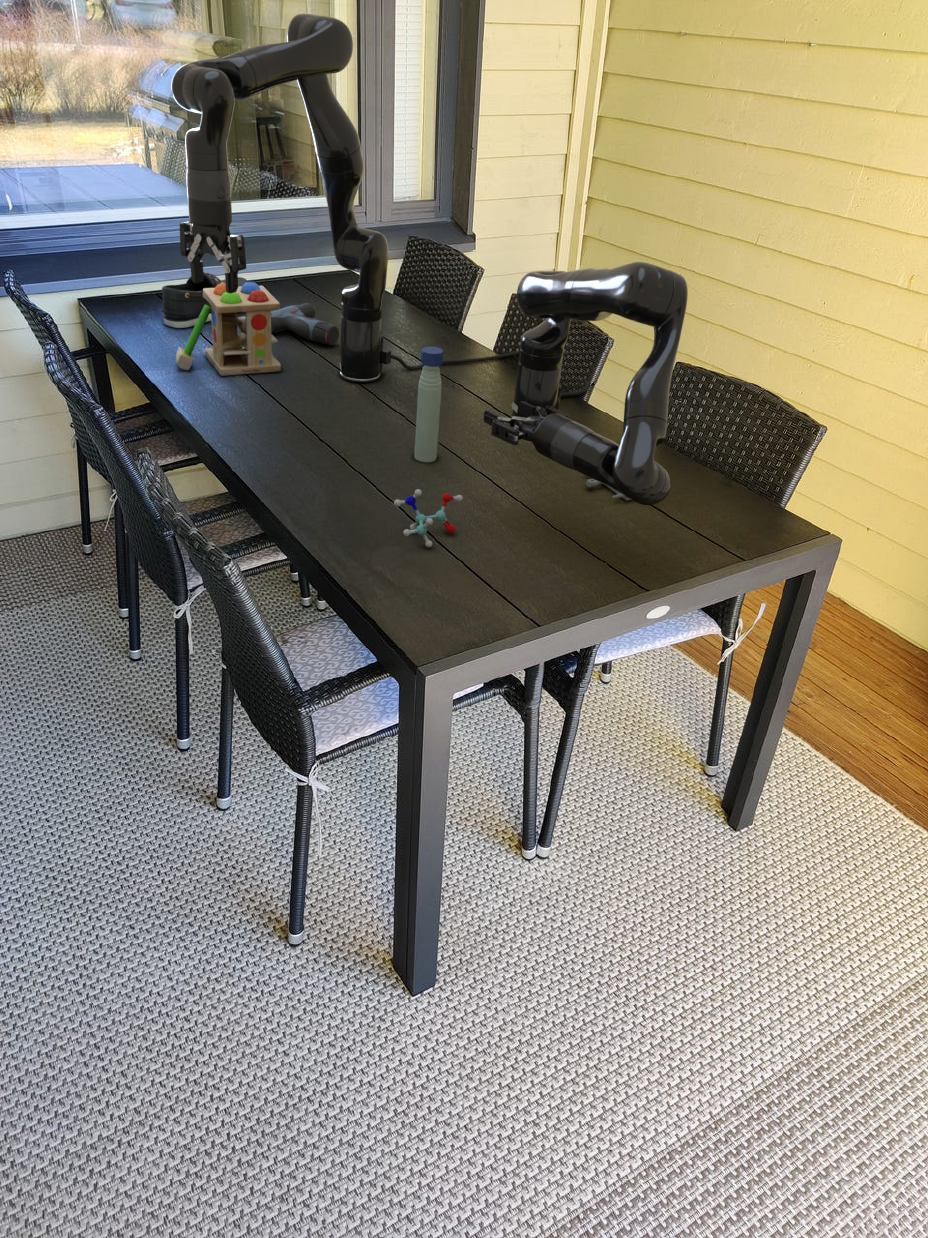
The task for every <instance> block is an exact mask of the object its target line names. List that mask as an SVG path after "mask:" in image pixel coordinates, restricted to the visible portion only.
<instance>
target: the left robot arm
mask: <svg viewBox="0 0 928 1238" xmlns="http://www.w3.org/2000/svg"><path fill="white" fill-rule="evenodd" d="M353 52H354V41H353V36H352V33H351V30H350V28H349V27H348V26H347V24H346V23H345V22H344V21H342V20H340V19H338V18H336V17H332V16H324V15H319V14H312V13H299V14H296V15H294V16H293V17H292V18H291V20H290V21H289V24H288V28H287V34H286V41H284V42H276V43H266V44H260V45H254V46H251V47H248V48H244V49H241V50H239V51H236V52H232V53H231V54H230V53H229V55H226V56H223V57H218V58H217V57H215V58H208V59H202V60H196V61H191V62H188V63H186V64H183V65H182V66H180V67H179V68H178V69H177V70H176V71H175V73H174V74H173V76H172V79H171V85H170V88H171V93H172V96H173V99H174V100H175V102H176V103H177V105H179V106H180V107H181V108H183V110H187V111H189V112H192V113H197V114H201V118H200V124H199V127H195V128H191V129H189V130H188V131H187V132H186V134H185V137H184V138H185V140H184V142H185V144H184V146H185V158H186V193H187V194H186V195H187V208H188V209H187V210H188V220H189V221H184V222H180V223H179V246H180V248H179V249H180V255H181V256H182V257H185V258H187V260H188V262H189V265H190V275H191V276H190V277H192V280H193V282H194V283H200V282H203V281H204V274H203V272H204V261H203V260H202V259H203V258H204V255H205V254H209V255H210V256H212V257H216V260H217V261H218V262H219V263H220V264H221V265H222V267H223V269H224V271H225V272H224V280H225V283H226V292H227V293H234V292H236V291H237V289H238V277H239V274H238V273H239V272H241V271H244V270H246V269H247V256H246V246H245V245H246V243H245V237H244V236H243V234H238V235H234V234H232V233H231V231H230V226H231V225H232V222H233V210H232V190H231V189H232V188H231V178H230V172H229V159H228V139H229V135H230V130H231V125H232V120H233V114H234V110H235V102H236V101H243V100H246V99H249V98H252V97H254V96H256V95H258V94H261V93H264V92H265V91H269V90H271V89H273V88H276V87H279V86H282V85H284V84H288V83H291V82H294V81H297V85H298V87H299V90H300V93H301V96H302V100H303V102H304V106H305V107H304V108H305V111H306V116H307V119H308V123H309V127H310V130H311V135H312V141H313V145H314V150H315V155H316V159H317V164H318V168H319V172H320V175H321V176H320V177H321V179H322V185H323V189H324V194H325V195H324V196H325V199H326V204H327V209H328V217H329V223H330V233H331V234H330V235H331V241H332V248H333V253H334V257H335V259H336V261H337V263H338V265H340V266H341V268H344V269H346V270H349V271H352V272H356V273H359V277H358V282H357V284H351V285H348V286H345V287H343V289H342V290H341V307H340V308H341V310H340V311H341V312H340V314H341V315H340V322H341V323H340V362H339V369H340V370H339V376H340V377H341V378H342V380H345V381H348V382H352V383H359V384H360V383H361V384H364V383H365V384H366V383H367V384H369V383H373V382H376V381H378V380H380V378H381V375H382V374H383V365H389V364H391V363H392V360H394V361H397V362H399V363H400V364H401V366H402V367H403V368H404V369H406V370H409V371H415V370H416V371H417V370H421V369H423V367H424V365H423V364H422V363H421V364H420V365H415V366H413V365H412V366H411V365H407V363H406V362H405V361H404V360H403V359H402V358H400V357H399V356H397V355H394V354H392V350H389V349H387V348H384V335H383V334H382V323H383V299H384V295H385V292H386V286H387V275H388V265H389V243H388V240H387V238H386V236H385V235H384V234H383V233H381V232H380V231H376V230H372V229H369V228H365V227H361V226H359V224H358V221H357V217H356V211H355V198H356V196H357V193H358V190H359V188H360V185H361V183H362V180H363V177H364V175H365V174H364V173H365V161H364V156H363V152H362V146H361V141H360V137H359V133H358V131H357V129H356V128H355V126H354V124H353V122H352V120H351V118H350V117H349V116H348V114H347V112H346V111H345V109H344V108H343V106H342V105H341V103H340V102H339V100H338V99H337V97H336V95H335V93H334V91H333V89H332V86H331V85H330V81H329V76H328V75H330V74H338V73H340V72H343V70H345V69H346V68H347V67H348V65H349V64H350V62H351V58H352V57H353ZM225 253H226V254H225ZM519 353H520V349H519V350H517V351H513V352H507V353H501V354H499V355H493V356H491V355H490V356H484V357H475V358H464V359H463V358H461V359H449V360H448V359H445V360H444V359H443V362H442V365H450V364H451V365H453V364H465V363H467V364H468V363H478V362H487V361H495V360H499V359H505V358H509V357H515V356H519Z"/></svg>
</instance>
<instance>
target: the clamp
mask: <svg viewBox="0 0 928 1238" xmlns="http://www.w3.org/2000/svg"><path fill="white" fill-rule="evenodd" d="M586 477H587V478H588V479H586V482H585V485H586V486H587V487H589V488H593V487H598V486H599V485H601V484H603V485H604V486H606V487H607V488H608V489H609V490H611V491H613V492H614V493H615V494H614V495H612V496H611V497H612V499H621V498H622V499H623V500H625V501H633V500H632V499H630V498H628V497H627V496H625V495H623V494H622V493H620V492H618V491H617V490H615V489H613V488H612V487H610V486H608V485H606V484H604V483H602V482H599V481H597V480H594V479H592V478H590V477H588V476H586Z"/></svg>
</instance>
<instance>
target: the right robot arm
mask: <svg viewBox="0 0 928 1238" xmlns="http://www.w3.org/2000/svg"><path fill="white" fill-rule="evenodd" d="M688 287H689V286H688V282H687V280H686V279H685V277H684V276H683V275H682V274H681V273H678V272H677V271H674V270H671V269H668V268H664V267H661V266H658V265H655V264H653V263H649V262H644V261H634V262H629V263H625V264H622V265H619V266H616V267H612V268H609V267H590V268H589V267H588V268H585V267H584V268H579V269H572V270H568V271H565V270H534V271H530V272H527V273H526V274H525V275H523V277H522V278H521V280H520V281H519V283H518V286H517V289H516V302H517V305H518V308H519V310H520V311H521V313H522V314H523V315H524V316H525V317H527V318H529V319H532V320H534V319H535V320H543V321H542V322H541V323H540V324H539V325H537V326H535V327H533V328H531V329H529V330H526V331H525V332H524V333H522V335H521V338H520V343H519V344H520V345H519V350H520V353H519V355H518V363H517V370H516V380H515V388H514V396H513V401H512V402H511V409H512V413H511V417H505V416H502V415H500V414H498V413H496V412H495V411H494V412H493V411H491V410H490V409H487V410H485V411H483V418H482V419H483V422H484V424H487V425H489V426H490V427H491V432H490V435H491V436H492V437H495V438H497V439H499V440H500V441H503V442H506V443H508V444H510V445H512V446H518V445H519V441H521V440H523V441H526V442H530V443H532V444H533V446H534V449H535V450H536V452H537V453H538V454H540V455H541V456H543V457H545V458H547V459H549V460H550V461H553V462H555V463H557V464H559V465H561V466H563V467H565V468H567V469H570V470H573V471H576V472H578V473H580V474H582V475H583V476H586V477H587V476H588V477H590V478H589V479H594V480H597V481H599V482H602V483H601V484H603V483H604V484H606V485H608V486H610V487H612V488H613V489H615V490H617V491H618V492H620V493H622V494H623V495H625V496H627V497H628V498H630V499H632V500H631V501H633V502H635V503H637V504H639V505H643V506H654V505H657V504H659V503H661V502H663V501H664V500H665V499H666V498H667V497H668V495H669V493H670V491H671V487H672V481H671V476H670V474H669V472H668V471H667V469H666V468H665V467H664V466H663V465H661V464H660V463H658V462H657V461H656V460H655V451H656V447H658V446H660V445H661V444H663V443H664V442H665V440H666V437H667V432H668V421H669V419H668V418H669V403H670V390H671V385H672V384H671V383H672V378H673V377H672V376H673V371H674V367H675V363H676V358H677V354H678V350H679V345H680V340H681V336H682V332H683V326H684V322H685V316H686V312H687V306H688V299H689V296H688V295H689V289H688ZM612 315H616V316H619V317H621V318H624V319H626V320H629V321H633V322H635V323H638V324H642V325H645V326H648V327H651V328H653V344H652V348H651V350H650V353H649V354H648V356H647V357H646V359H645V361H644V362H643V364H641V366H640V367H639V369H638V370H637V371H636V372H635V374H634V376H633V377H632V379H631V380H630V383H629V384H628V387H627V389H626V393H625V399H624V408H623V425H622V426H623V427H622V428H623V429H622V434H621V437H620V439H619V442H618V443H617V442H615V441H614V440H612V439H610V438H607V437H605V436H603V435H601V434H599V433H598V432H595V431H594V430H593V429H591V428H589V426H586V425H584V424H582V423H580V422H577V421H575V420H573V419H571V416H570V415H569V414H567V413H565V412H563V411H561V410H559V408H560V402H561V398H566V397H575V396H576V397H577V396H580V395H581V396H582V395H583V394H585V393H586V392H588V390H589V389H590V388H591V386H595V385H596V383H595V381H594V382H593V383H592V384H591V383H588V382H587V383H586V384H585V386H584V388H582V389H579V390H577V391H568V392H562V385H561V384H560V381H561V372H562V366H563V359H564V352H565V346H566V344H567V341H568V338H569V333H570V327H571V322H572V320H576V321H585V322H598V321H603V320H605V319H607V318H609V317H610V316H612ZM594 383H595V384H594ZM590 384H591V385H590ZM588 477H587V478H588ZM604 484H603V485H604ZM606 485H605V486H606Z"/></svg>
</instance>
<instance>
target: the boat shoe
mask: <svg viewBox="0 0 928 1238" xmlns="http://www.w3.org/2000/svg"><path fill="white" fill-rule="evenodd" d="M203 274H204V281H203V282H200V283H194V282H193V280H192V277H191V276H189V278H187V280H186V282H185V283H180V284H167V285H163V286H162V287H161V292H162V308H161V309H160V310H161V312H162V313H163V314H164V315H163V322H164V325H166V326H168V327H171V328H177V329H182V328H185V329H186V328H190V327H195V324H196V322H197V320H198V318H199V316H200V314H201V311H202V309H203V307H204V305H208V306H210V307H211V305H210V304H209V302H208V301H207V300H206V299H205V297H204V296H203V289H204V288H215V287H216V286H217V285H218V284H221V283H225V279H221V278H219V277H217V276H216V275H215V274H213V273H209V272H204V271H203ZM247 282H249V281H248V279H247V278H244V277H240V276H238V287H242V286H243V285H244V284H245V283H247ZM209 314H211V310H210V312H209ZM208 322H211V321H210V320H209V318H207V320H206V322H205V323H208Z"/></svg>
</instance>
